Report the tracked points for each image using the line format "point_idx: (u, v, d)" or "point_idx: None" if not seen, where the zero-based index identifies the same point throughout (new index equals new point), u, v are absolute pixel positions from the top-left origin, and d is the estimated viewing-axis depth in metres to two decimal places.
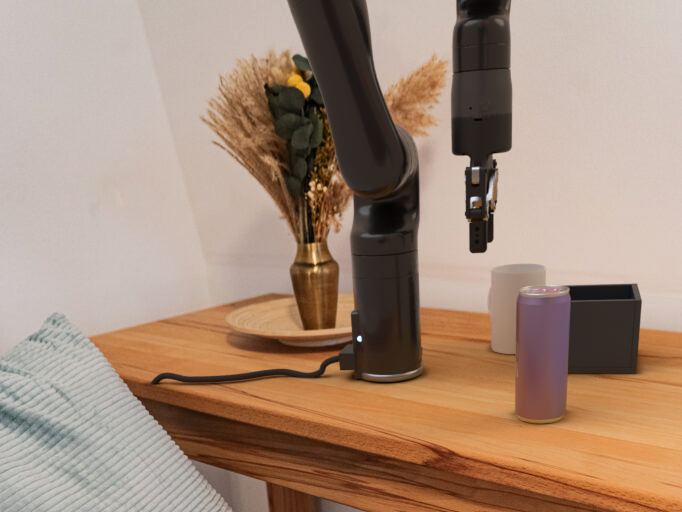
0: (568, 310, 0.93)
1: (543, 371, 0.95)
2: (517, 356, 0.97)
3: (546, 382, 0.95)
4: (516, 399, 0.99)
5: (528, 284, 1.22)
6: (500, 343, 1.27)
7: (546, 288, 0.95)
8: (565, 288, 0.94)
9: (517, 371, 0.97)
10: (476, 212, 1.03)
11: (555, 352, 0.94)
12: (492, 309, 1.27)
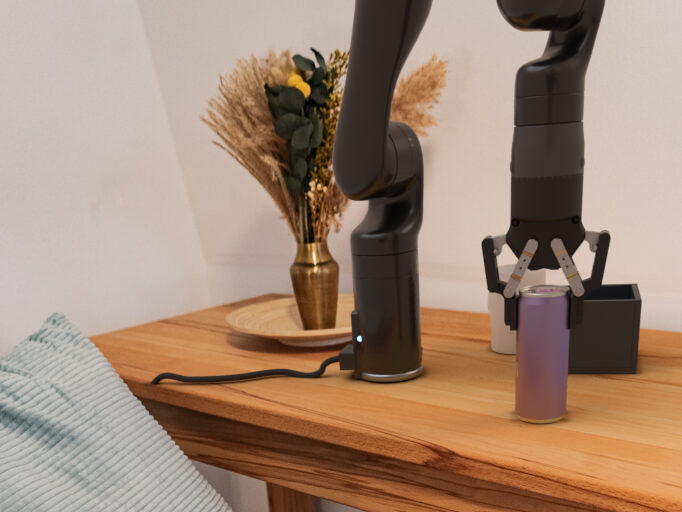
0: (568, 310, 0.93)
1: (543, 371, 0.95)
2: (517, 356, 0.97)
3: (546, 382, 0.95)
4: (516, 399, 0.99)
5: (528, 284, 1.22)
6: (500, 343, 1.27)
7: (546, 288, 0.95)
8: (565, 288, 0.94)
9: (517, 371, 0.97)
10: None
11: (555, 352, 0.94)
12: (492, 309, 1.27)
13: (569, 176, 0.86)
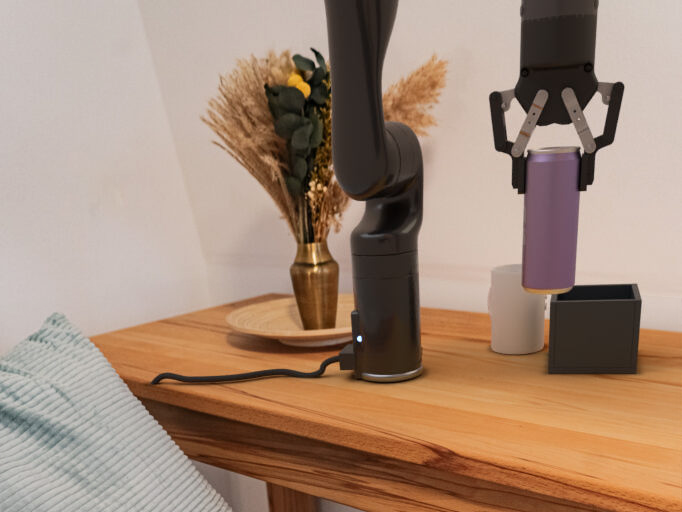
0: (579, 169, 0.89)
1: (551, 235, 0.91)
2: (525, 222, 0.93)
3: (554, 248, 0.92)
4: (523, 270, 0.95)
5: None
6: (500, 343, 1.27)
7: (556, 148, 0.91)
8: (576, 148, 0.90)
9: (524, 238, 0.93)
10: None
11: (564, 214, 0.90)
12: (492, 309, 1.27)
13: (582, 16, 0.82)
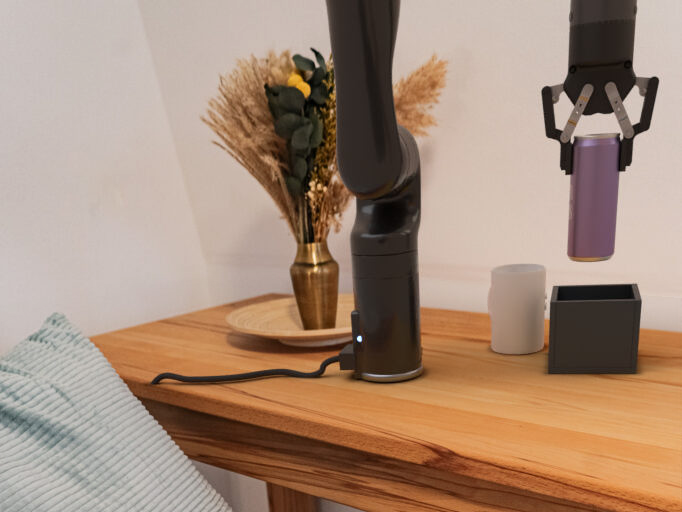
0: (619, 152, 1.04)
1: (595, 210, 1.05)
2: (571, 199, 1.07)
3: (597, 221, 1.06)
4: (569, 241, 1.09)
5: (528, 284, 1.22)
6: (500, 343, 1.27)
7: None
8: (616, 134, 1.05)
9: (571, 213, 1.08)
10: None
11: (607, 191, 1.04)
12: (492, 309, 1.27)
13: (624, 20, 0.96)
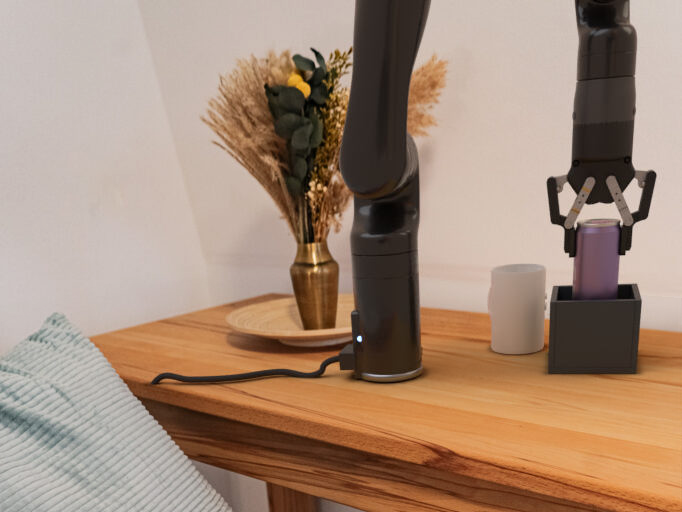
0: (619, 238, 1.11)
1: (597, 291, 1.12)
2: (574, 279, 1.14)
3: None
4: None
5: (528, 284, 1.22)
6: (500, 343, 1.27)
7: (600, 221, 1.12)
8: (616, 220, 1.12)
9: (574, 292, 1.15)
10: None
11: (608, 274, 1.12)
12: (492, 309, 1.27)
13: (623, 122, 1.03)
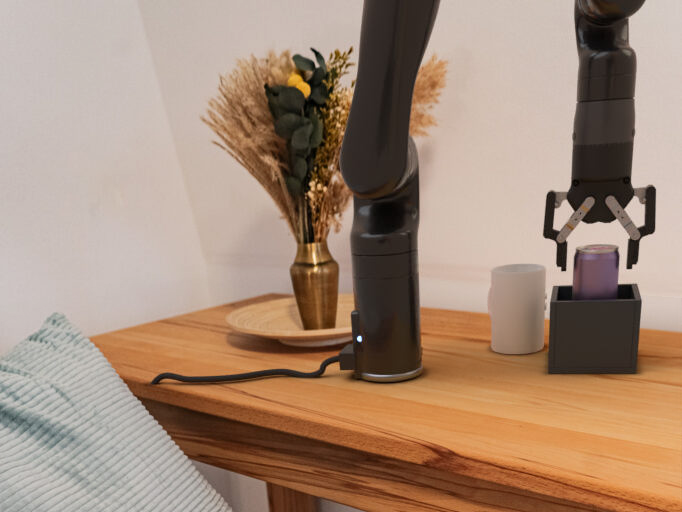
0: (617, 264, 1.12)
1: None
2: None
3: None
4: None
5: (528, 284, 1.22)
6: (500, 343, 1.27)
7: (598, 247, 1.14)
8: (615, 246, 1.13)
9: None
10: None
11: (606, 299, 1.13)
12: (492, 309, 1.27)
13: (623, 143, 1.04)
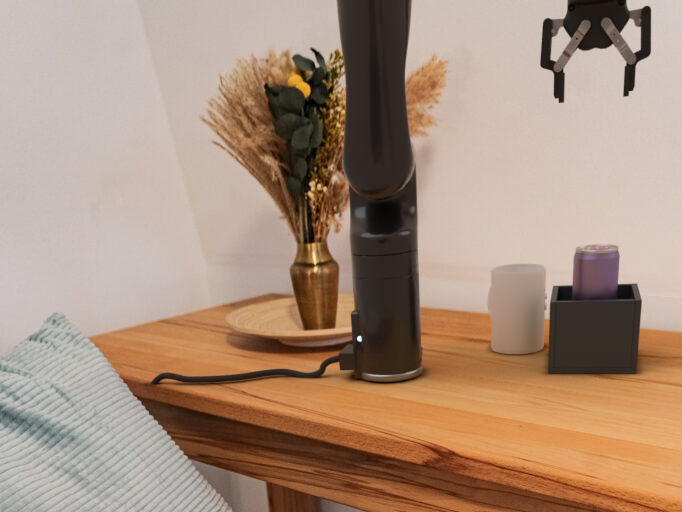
0: (617, 264, 1.12)
1: None
2: None
3: None
4: None
5: (528, 284, 1.22)
6: (500, 343, 1.27)
7: (598, 247, 1.14)
8: (615, 246, 1.13)
9: None
10: None
11: (606, 299, 1.13)
12: (492, 309, 1.27)
13: None
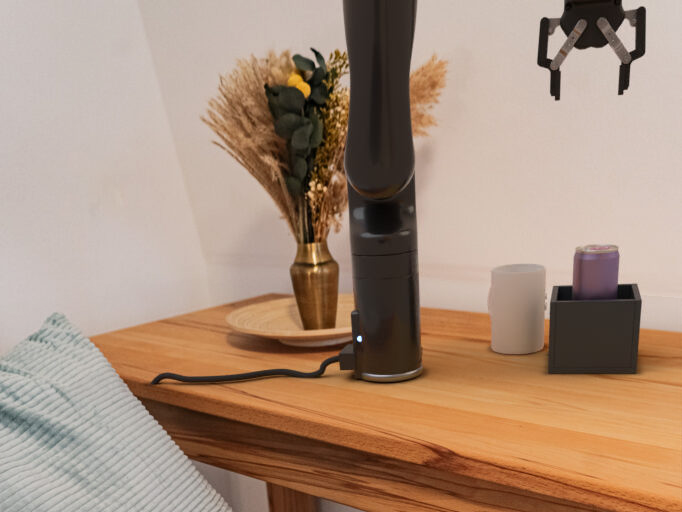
0: (617, 264, 1.12)
1: None
2: None
3: None
4: None
5: (528, 284, 1.22)
6: (500, 343, 1.27)
7: (598, 247, 1.14)
8: (614, 246, 1.13)
9: None
10: None
11: (606, 299, 1.13)
12: (492, 309, 1.27)
13: None
